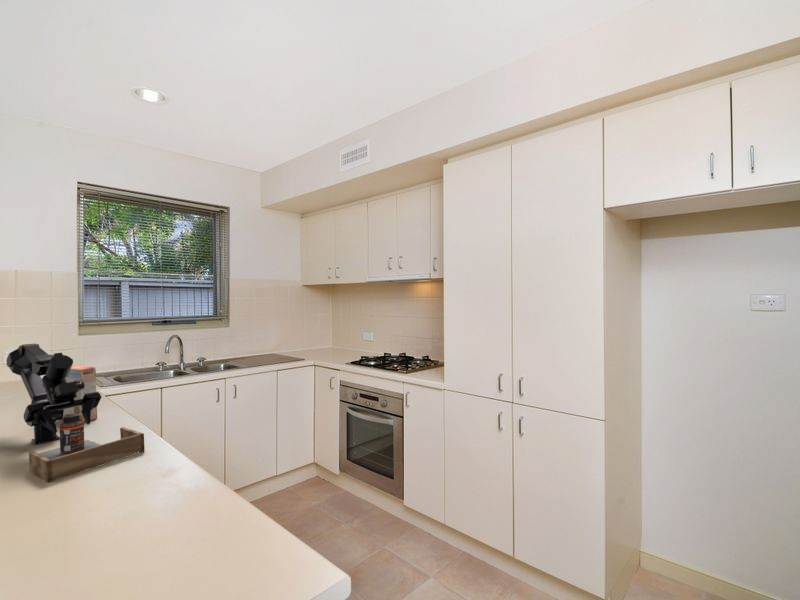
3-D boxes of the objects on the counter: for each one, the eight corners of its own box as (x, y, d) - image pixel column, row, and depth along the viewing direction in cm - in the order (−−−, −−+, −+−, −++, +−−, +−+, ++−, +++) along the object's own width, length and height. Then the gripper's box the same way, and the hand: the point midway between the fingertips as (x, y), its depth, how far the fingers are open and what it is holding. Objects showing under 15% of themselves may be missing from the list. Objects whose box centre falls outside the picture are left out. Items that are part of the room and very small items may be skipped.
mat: (34, 455, 127) (34, 454, 127) (87, 440, 139) (87, 439, 139) (52, 465, 120) (52, 463, 120) (107, 448, 131) (107, 447, 131)
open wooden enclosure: (29, 471, 115) (28, 452, 115) (124, 443, 135) (123, 427, 135) (47, 482, 108) (46, 461, 108) (144, 451, 128) (143, 433, 128)
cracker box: (98, 418, 164) (96, 366, 163) (81, 423, 158) (79, 369, 158) (78, 415, 170) (76, 364, 169) (61, 419, 164) (58, 367, 164)
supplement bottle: (71, 455, 125) (69, 418, 125) (55, 454, 126) (53, 417, 126) (89, 448, 131) (88, 412, 131) (74, 447, 132) (72, 412, 132)
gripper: (25, 378, 122) (40, 420, 117) (97, 367, 138) (114, 404, 132) (17, 401, 127) (31, 443, 121) (88, 388, 142) (104, 425, 137)
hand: (73, 427), depth 128 cm, fingers open, 8 cm apart
